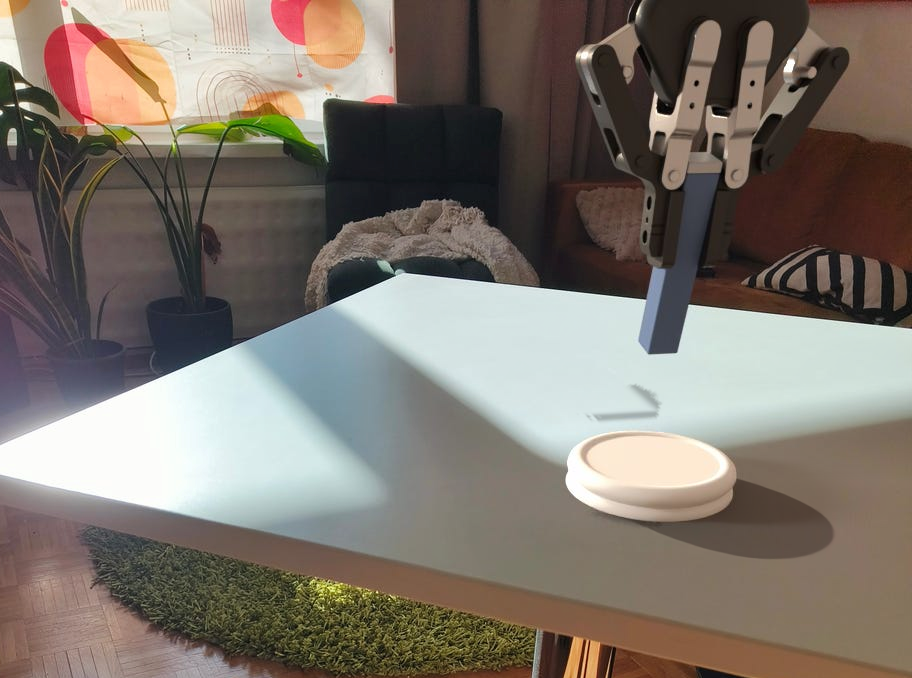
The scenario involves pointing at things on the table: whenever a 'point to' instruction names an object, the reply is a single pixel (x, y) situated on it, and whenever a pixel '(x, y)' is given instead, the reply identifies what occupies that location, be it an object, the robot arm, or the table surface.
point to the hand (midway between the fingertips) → (681, 264)
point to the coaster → (651, 476)
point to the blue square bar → (680, 260)
